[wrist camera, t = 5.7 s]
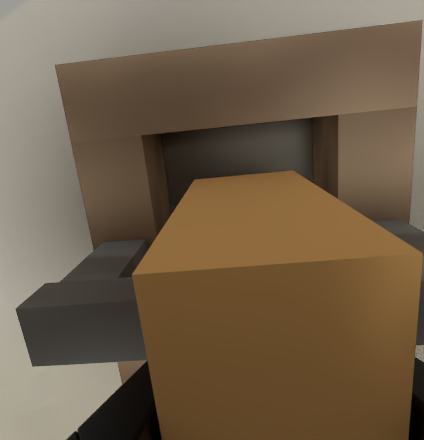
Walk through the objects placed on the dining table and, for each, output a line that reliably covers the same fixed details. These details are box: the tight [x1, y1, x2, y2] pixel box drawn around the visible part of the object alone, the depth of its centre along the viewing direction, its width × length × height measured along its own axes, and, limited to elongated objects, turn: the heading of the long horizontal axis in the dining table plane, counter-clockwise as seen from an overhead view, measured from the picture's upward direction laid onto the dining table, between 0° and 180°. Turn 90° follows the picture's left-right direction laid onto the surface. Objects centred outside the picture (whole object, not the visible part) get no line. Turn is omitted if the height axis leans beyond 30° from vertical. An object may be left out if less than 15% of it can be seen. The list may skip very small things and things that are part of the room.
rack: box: [16, 20, 424, 385], centre depth 14 cm, size 17×14×10 cm
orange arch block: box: [132, 170, 423, 440], centre depth 10 cm, size 7×4×9 cm, turn 6°
